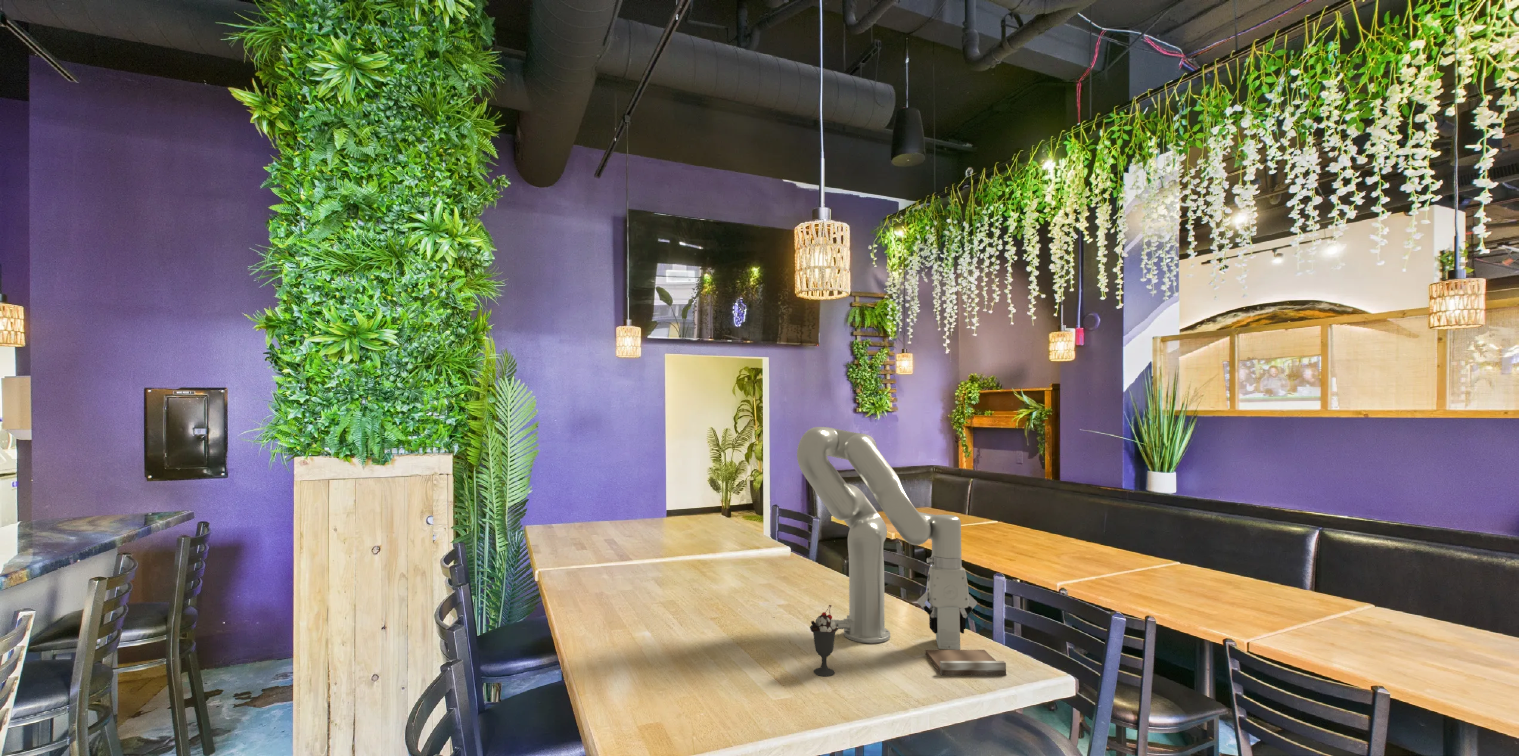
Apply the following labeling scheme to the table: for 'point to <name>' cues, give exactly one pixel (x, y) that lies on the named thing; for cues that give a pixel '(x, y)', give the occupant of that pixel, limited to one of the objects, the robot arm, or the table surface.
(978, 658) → the shelf board
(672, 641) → the table surface
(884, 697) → the table surface
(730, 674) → the table surface
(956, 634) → the small box
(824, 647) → the sundae
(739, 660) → the table surface
